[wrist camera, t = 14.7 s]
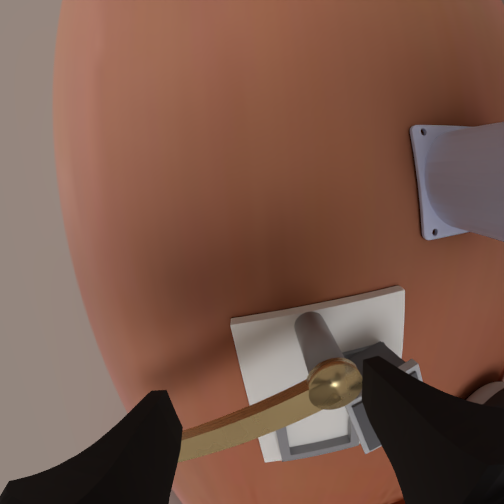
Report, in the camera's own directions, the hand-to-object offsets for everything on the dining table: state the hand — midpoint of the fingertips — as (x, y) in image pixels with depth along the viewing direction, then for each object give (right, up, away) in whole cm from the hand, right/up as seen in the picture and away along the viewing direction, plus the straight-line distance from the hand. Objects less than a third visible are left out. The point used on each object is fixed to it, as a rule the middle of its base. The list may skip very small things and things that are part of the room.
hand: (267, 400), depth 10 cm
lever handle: (-2, -4, +5) cm, 6 cm away
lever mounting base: (+5, -5, +11) cm, 14 cm away
